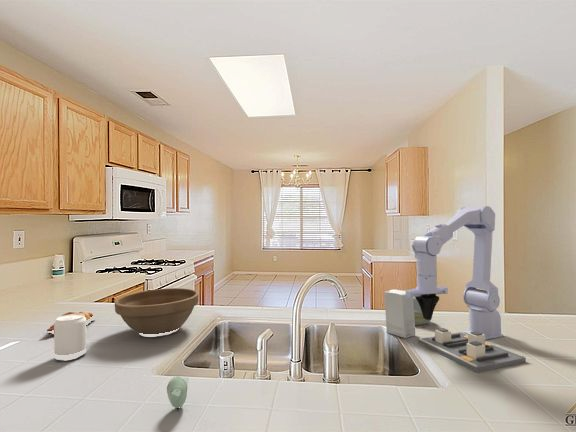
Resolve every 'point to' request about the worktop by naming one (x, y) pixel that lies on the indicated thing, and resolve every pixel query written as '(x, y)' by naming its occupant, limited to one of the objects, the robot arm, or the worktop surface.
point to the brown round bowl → (157, 309)
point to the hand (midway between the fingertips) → (427, 318)
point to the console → (458, 353)
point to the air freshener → (418, 314)
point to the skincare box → (399, 313)
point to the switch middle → (476, 337)
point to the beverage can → (70, 334)
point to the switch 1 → (442, 335)
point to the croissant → (87, 315)
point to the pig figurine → (177, 391)
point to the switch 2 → (475, 350)
